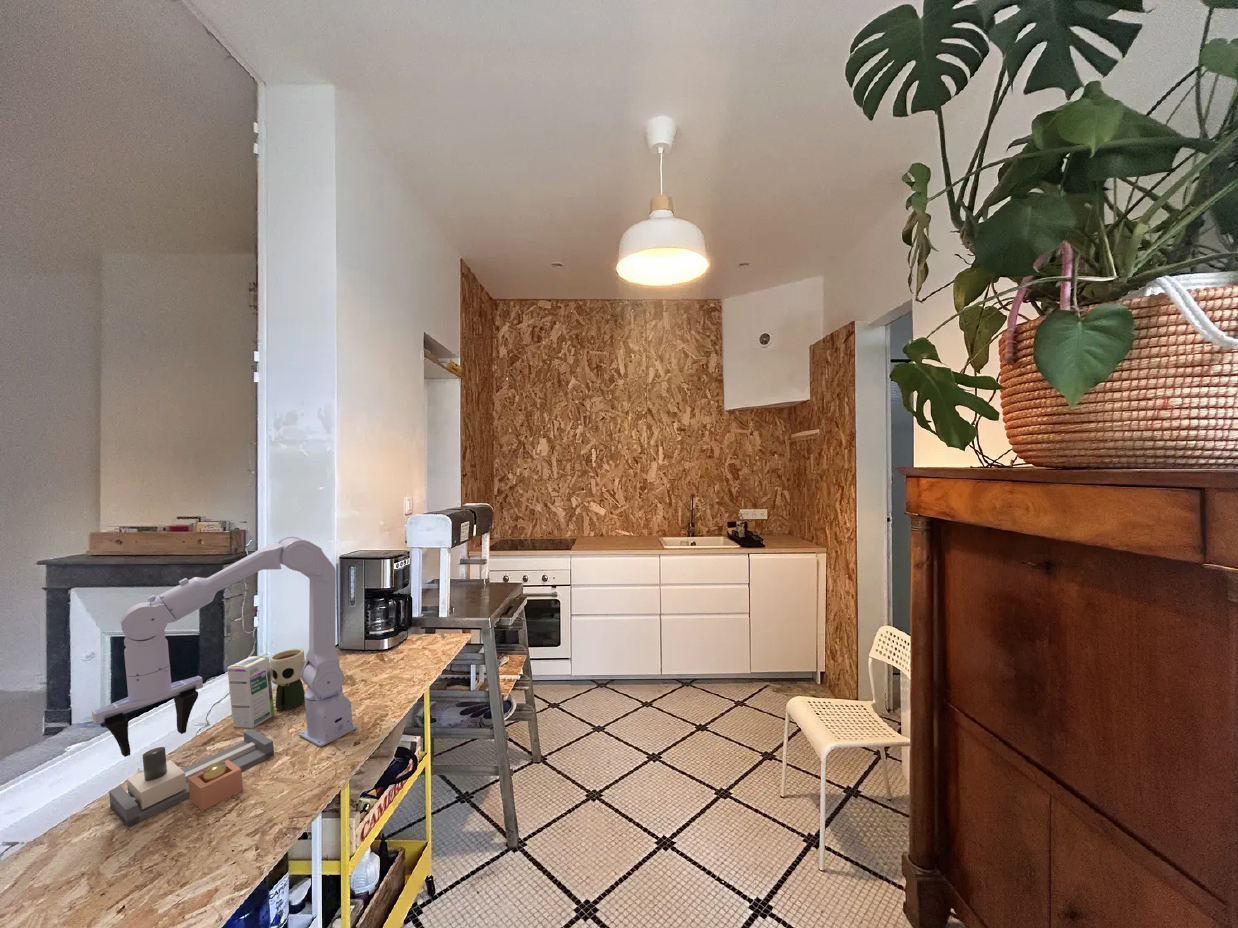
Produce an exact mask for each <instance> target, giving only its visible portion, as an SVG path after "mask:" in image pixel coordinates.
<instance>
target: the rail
mask: <svg viewBox="0 0 1238 928" xmlns="http://www.w3.org/2000/svg"><path fill="white" fill-rule="evenodd" d="M243 739H244V740H243V741H242V742H241V741H240V742H239V743H237V744H235V745H232V746H230V747H228V748H226V749H224V750H221V751H219V752H216V753H215V754H213V755H211V756H208V757H206V758H204V759H202V760H199V761H197V762H195V763H193V764H191V765H188V766H186V767H184V768H182V769H181V770H183V771H184V772H185V778H186V789H184V790H182V791H180V792H178V793H176V794H174V795H172V796H170V797H168V798H166V799H163V800H161V801H159V802H157V803H155V804H153V805H151V806H149V807H147V808H145V809H143V810H142V809H141V808H140V802H139V801H138V800H137V799H136V797H135V796H134V795H133V796H131V797H130V795H129V794H128V791H126V790H125V789H124V787H123V786H122V785H120V786H118V787H117V786H116V787H114V788H113V789H111V790H108V792H109V793H108V795H109V805H110V809H111V810H112V811H113V812H114V813H115V815H116V816H117V818H119V819H120V820H121V822H122V823H123V824H124V825H125V827H126V828H129V827H131V826H133V825H134V826H135V824H137V823H139V822H141V821H144V820H146V819H148V818H150V817H151V816H154V815H156V814H158V813H160V812H162V811H164V810H166V809H168V808H170V807H172V806H174V805H176V804H178V803H181V802H182V801H184V800H187V799H188V798H190V796H189V784H188V778H189V777H191V776H194V775H196V774H198V773H200V772H202V771H203V770H204V769H205V768H206V767H207V766H209V765H211V764H213V763H216V762H221V761H226V760H229V761H231V762H232V763H234V764H235V765H236V766H238V767H239V768H241V771H242V772H243V771H245V770H246V769H249V768H251V767H253V766H255V765H258V764H259V763H261V762H262V761H265V760H267V759H269V758H271V757H273V756H275V749H274V740H272V739H270V738H269V737H267V736H266V735H263V734H262V733H260V732H258V731H257V730H255V729H254V728H248V730H246V731H243Z"/></svg>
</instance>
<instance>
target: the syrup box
mask: <svg viewBox="0 0 1238 928" xmlns="http://www.w3.org/2000/svg"><path fill="white" fill-rule="evenodd" d="M226 669H227V678H228V688H229V697H230V709H231V716H232V726H233V727H234V728H239V729H240V728H241V729H255V728H256V726H259V724H262V723H263V722H265V721H267V720H268V719H270V718H273V716H275V707H274V698H273V685H272V680H271V674H270V657H269V656H262V655H258V656H257V655H254V656H251V655H250V656H248V657H247V658H245V659H243V660H241V661H238V662H236V663H234V664H231V665H229V666H228V667H226Z"/></svg>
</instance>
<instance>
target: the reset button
mask: <svg viewBox="0 0 1238 928" xmlns="http://www.w3.org/2000/svg"><path fill="white" fill-rule="evenodd" d="M224 774H226V763H225V762H223V761H221V762H216V763H213V764H211V765H209V766H207V767H206V768H205V769H204V770H203V778H204V783H208V782H210V781H212V780H214V779H216V778H218V777H220V776H222V775H224Z"/></svg>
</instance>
